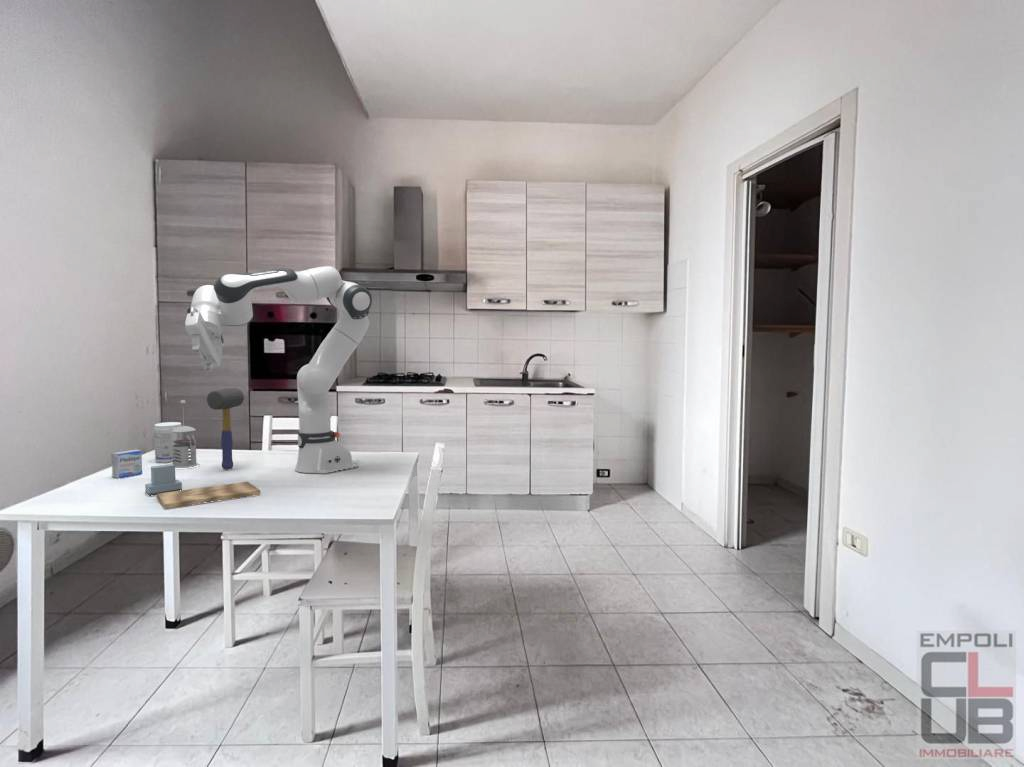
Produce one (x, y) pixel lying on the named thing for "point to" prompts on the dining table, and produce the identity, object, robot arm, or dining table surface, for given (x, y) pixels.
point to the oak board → (207, 494)
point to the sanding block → (163, 480)
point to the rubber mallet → (226, 418)
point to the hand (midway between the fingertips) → (201, 360)
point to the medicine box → (126, 463)
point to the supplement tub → (165, 441)
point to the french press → (184, 447)
